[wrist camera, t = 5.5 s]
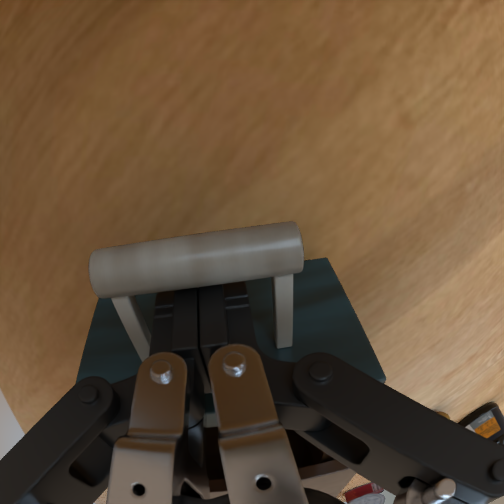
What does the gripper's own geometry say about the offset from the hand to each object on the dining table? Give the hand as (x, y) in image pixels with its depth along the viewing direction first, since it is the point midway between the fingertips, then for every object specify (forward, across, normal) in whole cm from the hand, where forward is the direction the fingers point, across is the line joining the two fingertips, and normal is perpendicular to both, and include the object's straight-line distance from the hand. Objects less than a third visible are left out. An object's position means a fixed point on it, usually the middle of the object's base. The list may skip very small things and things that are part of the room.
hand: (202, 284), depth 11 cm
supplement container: (+5, -42, +47) cm, 63 cm away
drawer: (+4, 0, +7) cm, 8 cm away
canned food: (+5, -25, +79) cm, 83 cm away
